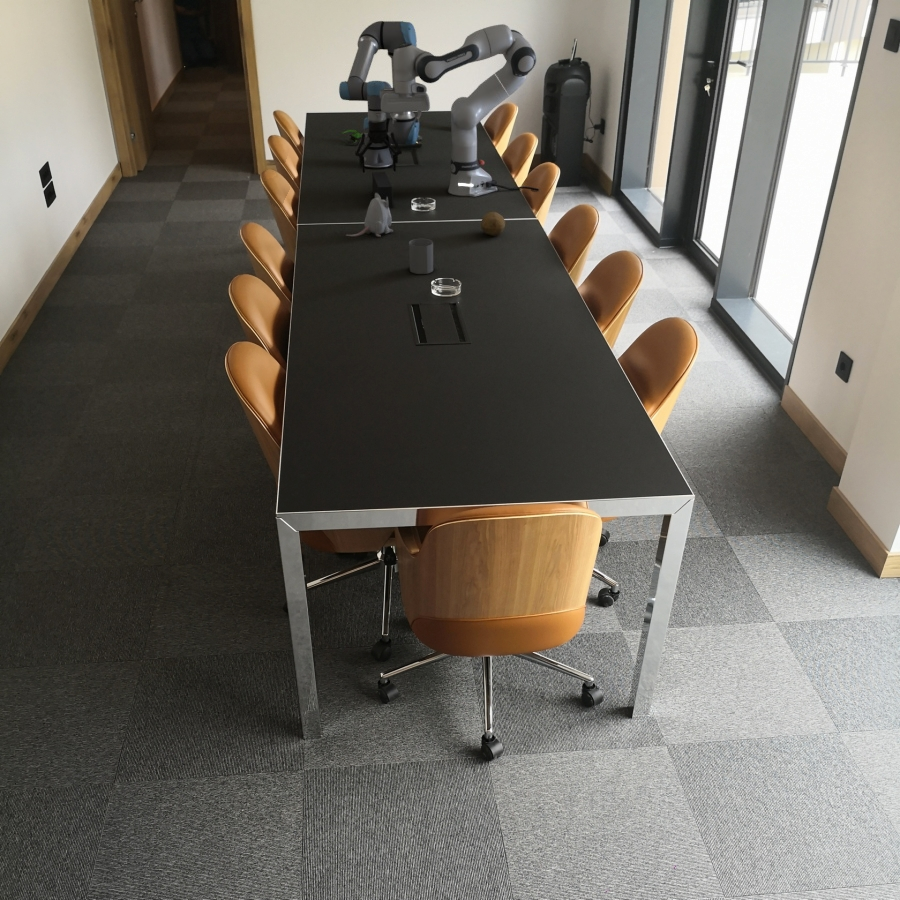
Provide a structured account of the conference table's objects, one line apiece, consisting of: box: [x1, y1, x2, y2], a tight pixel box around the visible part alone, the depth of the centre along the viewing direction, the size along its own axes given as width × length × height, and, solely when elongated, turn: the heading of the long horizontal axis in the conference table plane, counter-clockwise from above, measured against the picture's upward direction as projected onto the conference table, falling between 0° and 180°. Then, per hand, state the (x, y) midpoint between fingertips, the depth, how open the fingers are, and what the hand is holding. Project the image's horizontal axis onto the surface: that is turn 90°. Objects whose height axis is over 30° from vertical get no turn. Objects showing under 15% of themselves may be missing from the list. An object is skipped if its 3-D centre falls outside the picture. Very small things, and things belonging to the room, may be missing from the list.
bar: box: [371, 171, 394, 209], centre depth 377 cm, size 24×6×9 cm, turn 11°
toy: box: [346, 193, 394, 238], centre depth 334 cm, size 9×24×15 cm, turn 137°
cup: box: [408, 237, 434, 275], centre depth 305 cm, size 8×8×10 cm
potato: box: [480, 211, 506, 237], centre depth 338 cm, size 10×14×8 cm
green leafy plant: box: [340, 129, 362, 146], centre depth 465 cm, size 6×13×30 cm
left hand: (379, 171), depth 380 cm, fingers open, 13 cm apart
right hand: (405, 122), depth 359 cm, fingers open, 8 cm apart
